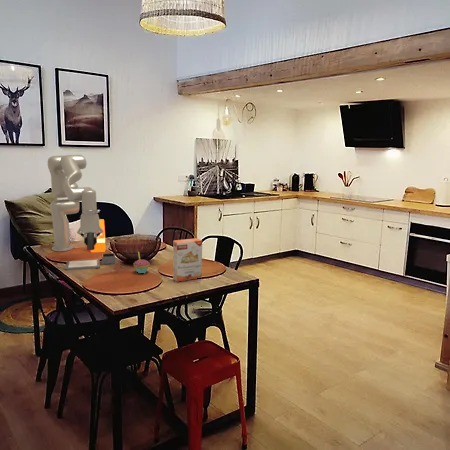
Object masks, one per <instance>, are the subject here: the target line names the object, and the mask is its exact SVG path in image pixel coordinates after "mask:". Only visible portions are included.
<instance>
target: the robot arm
mask: <svg viewBox="0 0 450 450" xmlns="http://www.w3.org/2000/svg"><path fill="white" fill-rule="evenodd" d="M86 167H87V160H86V157H84V155H82V154H66V155H52V156H50V157H48V159H47V168H48V170H49V173H50V177H51V178H50V181H51V195H52V196H53V197H54V198H57V199H56V200H55V199H54V200H52V201H51V202H50V204H49V209H50V214H51V220H52V230H53V231H52V233H53V246H51V250H52V251H53V252H66V251H70V250H73V248H74V246H73V245H71V237H70V235H71V234H70V222H69V219H68V218H67V217H66V216H65V215H73V214H77V213H79V211H80V202H81V211H82V212H81V215H80V219H79V220H80V221H79V222H80V223H79V229H78V230H77V231H76V233H77V234H78V235H79V236H81V237H82V238H83V241H84V242H83V243H84V245H85V246H87V233H89V232H92V233H94V235H95V236H94V245H96V243H97V237H98V236H99V235H100V234H102V233H103V230H102V229H101V227H100V223H99V220H100V217H99V214H98V213H100V209H97V208H98V207H97V191H96V190H95V189H93V188H92V187H89V186H86V187H85V186H84V187H83V186H82V187H79V185H78V184H77V183H78V181H80V180H81V179H82V176H83V174H82V173H83V172H82V171H81V170H84V169H86ZM64 198H65V199H64ZM99 231H100V232H99ZM97 232H98V233H97Z"/></svg>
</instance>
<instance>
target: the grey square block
mask: <svg viewBox="0 0 450 450" xmlns="http://www.w3.org/2000/svg"><path fill="white" fill-rule="evenodd" d="M101 264H102V265H103V266H105V265H106V266H107V265H116V254H115V253H114V252H112V253H110V252H109V253H101ZM102 265H101V266H102Z"/></svg>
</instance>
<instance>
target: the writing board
mask: <svg viewBox="0 0 450 450" xmlns="http://www.w3.org/2000/svg"><path fill="white" fill-rule="evenodd" d="M100 267H101V263H100V258H99V259H85V260H84V259H83V260H67V261H66V264H65V267H64V270H65V271H72V270H86V269H89V270H90V269H100Z"/></svg>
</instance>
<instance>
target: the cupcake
mask: <svg viewBox="0 0 450 450" xmlns="http://www.w3.org/2000/svg"><path fill="white" fill-rule="evenodd" d="M137 254H138V260H135V261H134V262H133V264H132V265H133V267H134V269H135V270H136V273H137V272H138V273H144V274H146V273H147V271H148V268H149V267H150V266H151V263H150V262H149V260H146V259H141V256H140V251H139V250H137ZM138 273H137V274H138Z"/></svg>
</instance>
